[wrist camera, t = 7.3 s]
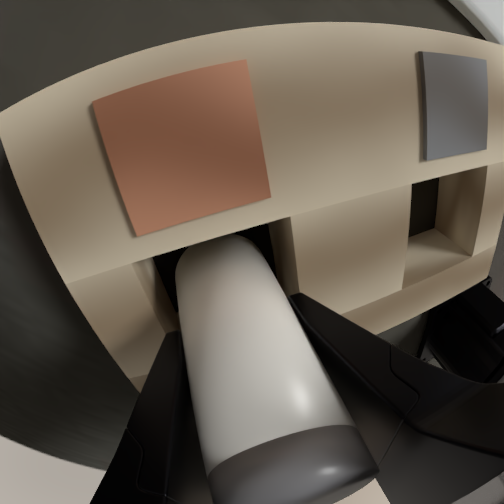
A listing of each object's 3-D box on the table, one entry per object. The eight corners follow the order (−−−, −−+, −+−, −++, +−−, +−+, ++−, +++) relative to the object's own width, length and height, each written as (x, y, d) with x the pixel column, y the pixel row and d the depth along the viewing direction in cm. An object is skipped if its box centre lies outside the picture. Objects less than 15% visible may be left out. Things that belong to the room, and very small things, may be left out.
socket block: (454, 250, 16) (489, 279, 14) (148, 356, 14) (152, 411, 12) (464, 42, 10) (516, 49, 7) (35, 104, 8) (-9, 117, 5)
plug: (271, 295, 12) (367, 489, 6) (190, 319, 12) (238, 532, 5) (257, 221, 10) (394, 448, 4) (162, 249, 10) (194, 515, 3)
